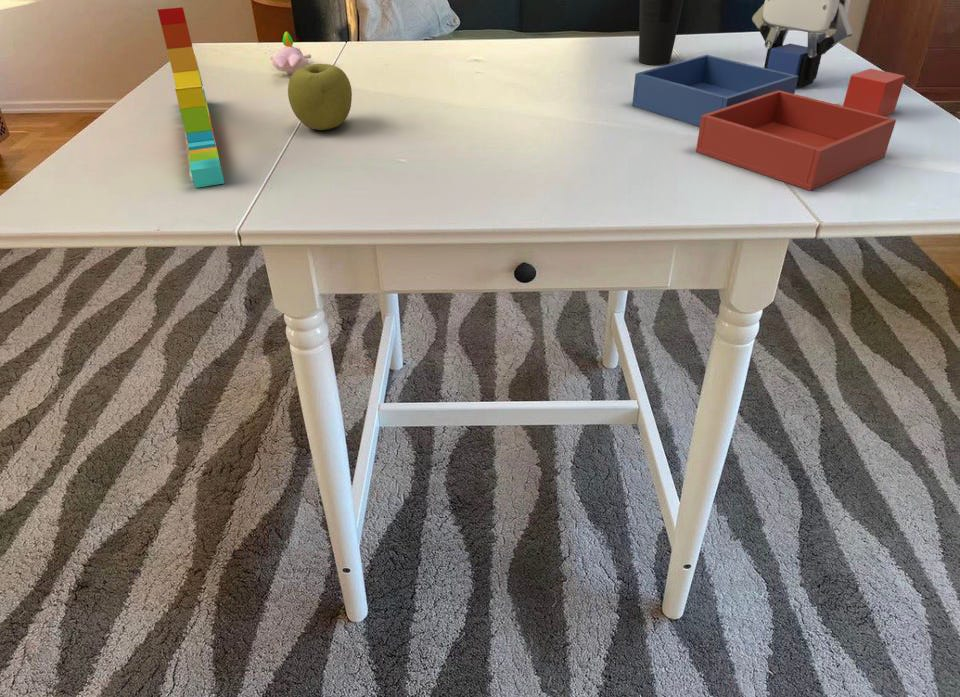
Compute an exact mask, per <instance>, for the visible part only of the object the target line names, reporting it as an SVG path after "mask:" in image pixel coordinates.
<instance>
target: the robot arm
mask: <svg viewBox="0 0 960 697" xmlns="http://www.w3.org/2000/svg"><path fill="white" fill-rule="evenodd" d="M851 1H852V0H764V2H763V4H762V5H761V6H760V7H759V8H758V9H757V11H756V12H755V13H754V14H753V15H752V17H751V21H752V23H753V24H754V25H755V26H756V28H757V29H758V30H759V32H760V35H761V37H762V39H763V41H764V47H765V48H766V49H767V51H766V55H765V60H764V66H763V68H767V66H768V61H769V56H770V51H771V49H772V48H775V47H779V46H783V45H784V43H785V40H786V38H787V36H788V33H789V31H790V30H794V31H799V32H805V33H807V47H808V49H807V56H804V57H803V59H802V62H801V67H800V71H799V75H798V76H799V77H798V81H797V87H796V88H804V87H807V86H810V85H812V84H814V81H815V80H816V78H817V76H818V72H819V68H820V64H821V60H822V55H825V54H826V53H827V52H828V51H829V50H831V49H832V48H833V47H835V46H836V45H838V44H839V43H841V42H843V41H845V40H847V39H849V38H851V37H852V36H853V34H854V33H853V29H852V26H851V23H850V20H849V17H848V15H849V11H850V10H849V9H850V6H851ZM829 30H835V32H834V33H833V34H831V35H829V33H828V32H829Z"/></svg>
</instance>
